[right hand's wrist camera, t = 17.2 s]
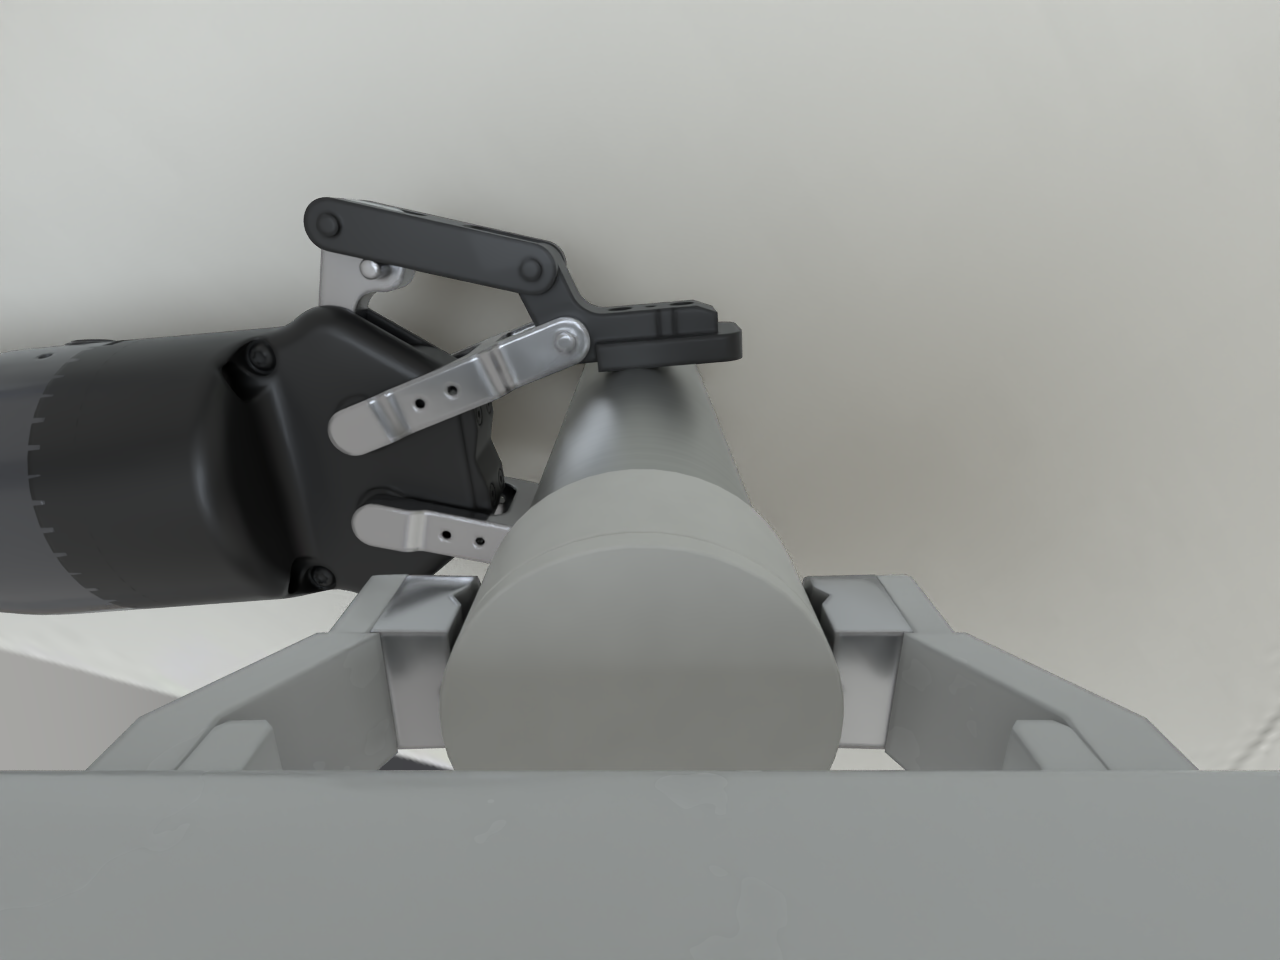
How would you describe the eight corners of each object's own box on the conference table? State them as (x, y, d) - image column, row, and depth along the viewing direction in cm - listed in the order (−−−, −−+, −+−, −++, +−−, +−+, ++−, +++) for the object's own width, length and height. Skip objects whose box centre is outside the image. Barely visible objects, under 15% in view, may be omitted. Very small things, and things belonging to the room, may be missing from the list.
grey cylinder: (633, 460, 26) (620, 864, 10) (559, 375, 25) (402, 669, 9) (721, 391, 25) (875, 709, 9) (649, 299, 24) (668, 465, 8)
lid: (779, 439, 9) (825, 508, 7) (815, 717, 11) (859, 847, 9) (444, 500, 10) (383, 586, 7) (527, 761, 11) (499, 897, 9)
